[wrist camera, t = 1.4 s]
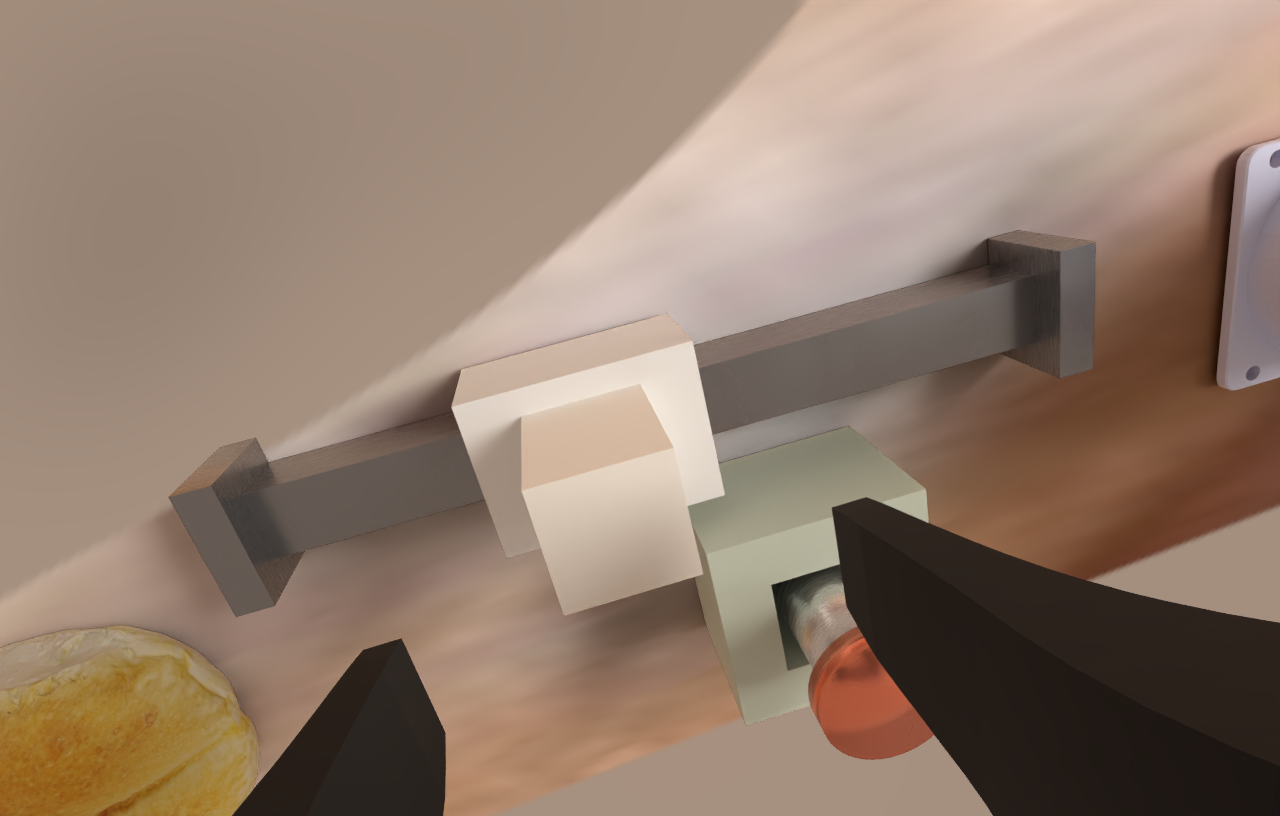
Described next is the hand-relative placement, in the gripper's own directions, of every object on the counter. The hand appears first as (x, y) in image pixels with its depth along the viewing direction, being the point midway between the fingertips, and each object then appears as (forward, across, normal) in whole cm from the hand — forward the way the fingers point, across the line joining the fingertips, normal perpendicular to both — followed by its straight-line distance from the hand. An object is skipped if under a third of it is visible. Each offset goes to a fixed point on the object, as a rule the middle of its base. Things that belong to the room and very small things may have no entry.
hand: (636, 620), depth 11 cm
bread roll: (+10, +17, +6) cm, 21 cm away
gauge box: (+10, -5, +6) cm, 13 cm away
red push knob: (+7, -5, +6) cm, 11 cm away
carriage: (+10, 0, 0) cm, 10 cm away
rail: (+10, -2, 0) cm, 10 cm away
